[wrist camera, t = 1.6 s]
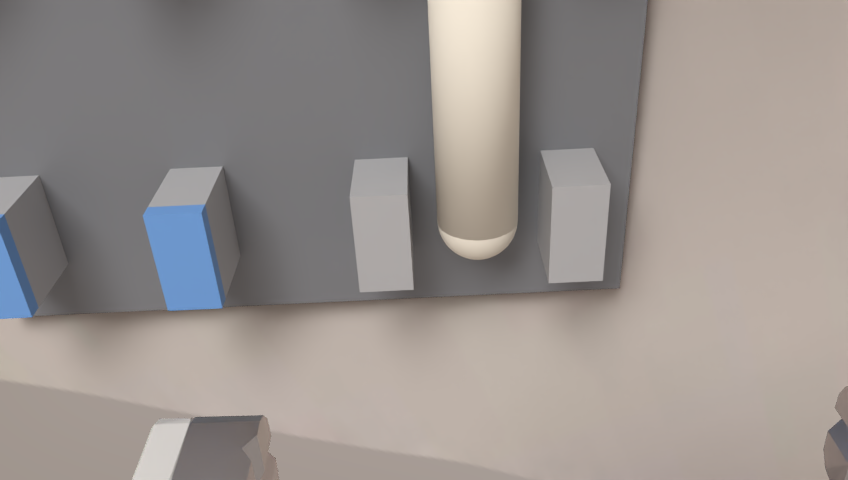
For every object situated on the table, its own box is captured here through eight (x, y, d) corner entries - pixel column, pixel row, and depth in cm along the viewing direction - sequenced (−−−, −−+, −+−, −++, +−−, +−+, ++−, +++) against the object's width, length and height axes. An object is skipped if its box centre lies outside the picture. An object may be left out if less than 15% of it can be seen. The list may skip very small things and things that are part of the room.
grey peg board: (673, -367, 23) (751, -404, 17) (614, 274, 34) (650, 366, 29) (-228, -315, 23) (-413, -338, 18) (12, 303, 34) (-58, 399, 29)
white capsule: (416, -230, 23) (417, -229, 21) (518, -235, 23) (531, -235, 21) (437, 235, 32) (440, 277, 29) (512, 231, 32) (521, 273, 29)
